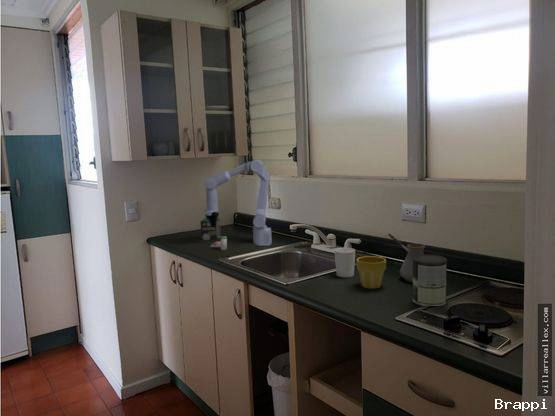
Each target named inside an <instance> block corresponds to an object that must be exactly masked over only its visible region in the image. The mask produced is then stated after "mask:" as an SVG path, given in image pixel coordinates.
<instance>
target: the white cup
mask: <svg viewBox="0 0 555 416" xmlns="http://www.w3.org/2000/svg"><path fill="white" fill-rule="evenodd" d="M334 259H335V261H334V262H335V263H334V264H335V271H336V276H337V277H340V278H352V277H354V275H355V264H356V260H355V259H356V249H355V248H352V247H339V248H335V249H334Z"/></svg>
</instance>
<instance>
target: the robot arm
mask: <svg viewBox="0 0 555 416" xmlns="http://www.w3.org/2000/svg"><path fill="white" fill-rule="evenodd" d="M250 171H251V172H253V173H254V174H256V175H257V176H258V178H259V179H260V182H259V188H258V189H259V190H258V198H257V205H256V212H255V215H254V217H253V220H252V224H253V226H252V234H253V239H252V241H253V244H255V246H257V247H258V246H260V247H261V246H262V247H263V246H264V247H265V246H266V247H267V246H271V245H272V243H273V242H272V241H273V240H272V239H273V238H272V228H271V227H268V226H267V225H266V221H267V218H266V209H267V208H266V207H267V202H268V201H267V200H268V194H269V187H270V179H271V175H270V173H269V171H268V168H267V167H266V165H265V163H263V161H262V160H260V159H253V160H252V161H251V160H250V161H247V162H244V163H243V164H241V165H239V166H237V167H235V168H233V169H231V170H229V171H227V170H221V171H220V172H219V173H217V174H215V175H211V177H210V178H207V179H206V180H205V182H204V187H205V188H206V189H205V196H206V197H205V199H206V209H204V212H206V214H207V217H208V219H209V221H210V225H211V227H216V222H217V218H219V215H220V213H219V211H220V210H219V203H218V202H219V201H218V199H219V198H218V190H217V189H218V188H217V187H220V186H222V185H224V184H227V183H228V182H230V181H231V178H232V177H234V176H236V175H238V174H241V173H243V172H250Z"/></svg>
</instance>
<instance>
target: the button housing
mask: <svg viewBox="0 0 555 416" xmlns="http://www.w3.org/2000/svg"><path fill="white" fill-rule="evenodd" d="M210 248H221V245H215V242H213V243H211V245H210Z"/></svg>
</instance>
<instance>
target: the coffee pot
mask: <svg viewBox="0 0 555 416" xmlns="http://www.w3.org/2000/svg"><path fill="white" fill-rule="evenodd" d="M388 236H389V237H388ZM385 238H386V239H389V238H390V239H392V240H393V241H394V242H395V243H396V244H397V245H399V246H400V247H402V248H403V249H404V250H405V251H406V252H407V254H406V257H405V259H404V261H403V262H402V265H401V267H400V270H399V274H400V276H401V277H402V278H403V279H404V280H405V281H407V282H409V283H413V257H414V256H417V255H425V252H424V249H425V248H426V245H425V244H421V243H411V244H410V243H409V244H407V245H406V246H405V245H403V243H402V242H401V241H400V240H399V239H398V238H396V237H395V236H394V235H392V234H391V233H388V234H387V235H386V236H385Z"/></svg>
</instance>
